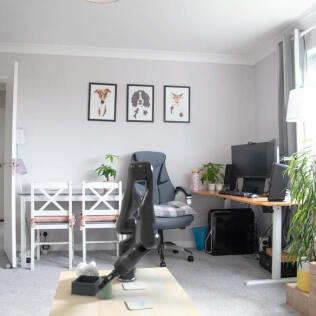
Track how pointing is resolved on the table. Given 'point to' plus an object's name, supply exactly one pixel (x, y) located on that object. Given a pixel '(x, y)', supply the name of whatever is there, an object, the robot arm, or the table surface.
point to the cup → (105, 289)
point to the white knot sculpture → (87, 269)
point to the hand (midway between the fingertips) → (102, 285)
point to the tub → (85, 285)
